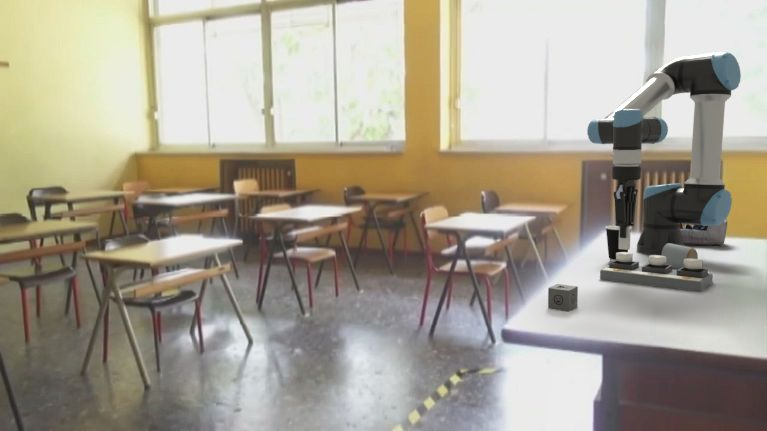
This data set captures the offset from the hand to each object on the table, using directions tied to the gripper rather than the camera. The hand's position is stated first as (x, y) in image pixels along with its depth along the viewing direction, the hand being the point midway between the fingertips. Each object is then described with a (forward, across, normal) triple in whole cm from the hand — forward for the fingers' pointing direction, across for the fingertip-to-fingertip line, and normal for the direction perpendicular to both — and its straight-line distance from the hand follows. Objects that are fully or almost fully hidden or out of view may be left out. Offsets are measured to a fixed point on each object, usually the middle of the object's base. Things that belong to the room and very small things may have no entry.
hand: (624, 248), depth 182 cm
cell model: (+8, -70, +2) cm, 70 cm away
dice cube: (+8, +42, 0) cm, 43 cm away
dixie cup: (+8, -21, -9) cm, 24 cm away
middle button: (+3, 0, +9) cm, 10 cm away
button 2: (+3, 0, +18) cm, 18 cm away
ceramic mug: (+8, -19, +10) cm, 23 cm away
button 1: (+3, 0, 0) cm, 3 cm away
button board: (+8, +1, +9) cm, 12 cm away
